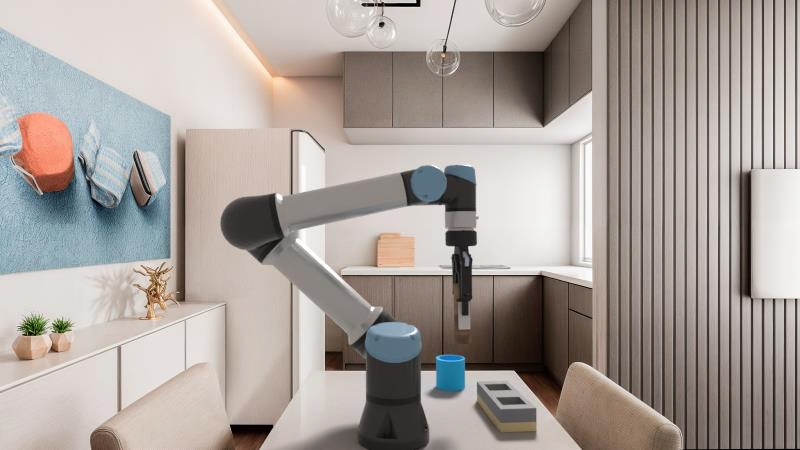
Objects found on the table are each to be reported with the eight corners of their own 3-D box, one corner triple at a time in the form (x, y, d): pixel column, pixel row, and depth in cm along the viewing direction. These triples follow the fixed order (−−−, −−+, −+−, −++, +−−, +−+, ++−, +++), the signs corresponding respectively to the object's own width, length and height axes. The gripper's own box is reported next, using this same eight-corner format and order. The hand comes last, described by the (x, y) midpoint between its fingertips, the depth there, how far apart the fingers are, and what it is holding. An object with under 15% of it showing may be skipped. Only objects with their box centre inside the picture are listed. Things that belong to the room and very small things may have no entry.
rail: (536, 431, 116) (536, 408, 116) (500, 432, 115) (500, 409, 115) (507, 400, 138) (507, 380, 138) (476, 400, 137) (476, 381, 137)
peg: (462, 344, 124) (461, 284, 124) (450, 342, 127) (450, 283, 128) (474, 342, 126) (473, 283, 127) (463, 340, 130) (462, 282, 130)
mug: (467, 390, 146) (467, 361, 146) (438, 391, 146) (437, 361, 146) (460, 379, 158) (460, 351, 158) (433, 379, 158) (432, 352, 158)
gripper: (484, 229, 119) (486, 333, 119) (468, 230, 136) (470, 321, 136) (451, 229, 119) (453, 334, 118) (440, 230, 136) (441, 322, 135)
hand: (462, 327), depth 127 cm, fingers closed on peg, 4 cm apart
